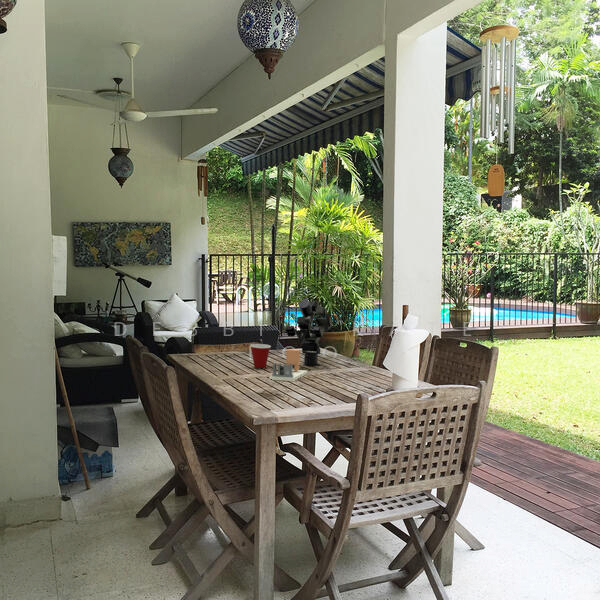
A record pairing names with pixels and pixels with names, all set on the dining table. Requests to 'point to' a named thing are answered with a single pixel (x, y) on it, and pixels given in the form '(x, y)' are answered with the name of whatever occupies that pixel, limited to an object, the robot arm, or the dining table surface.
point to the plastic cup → (260, 354)
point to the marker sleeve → (293, 358)
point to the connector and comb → (286, 369)
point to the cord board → (295, 376)
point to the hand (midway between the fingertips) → (300, 344)
